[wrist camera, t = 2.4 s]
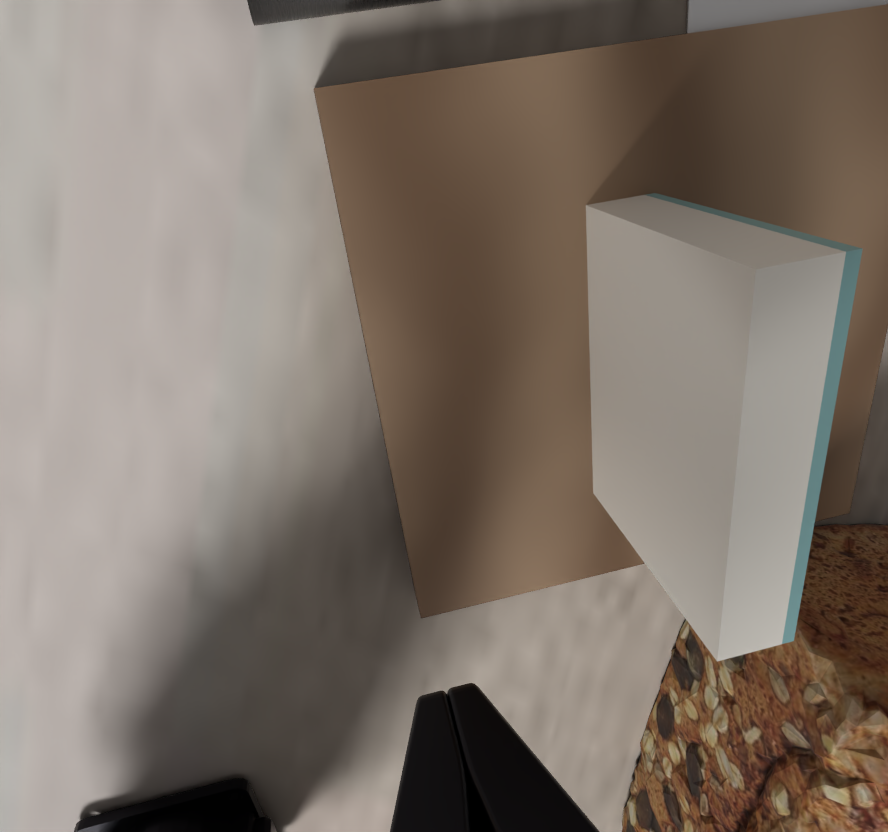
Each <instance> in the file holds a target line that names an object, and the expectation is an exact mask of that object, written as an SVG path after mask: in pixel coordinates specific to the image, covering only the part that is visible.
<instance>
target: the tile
mask: <svg viewBox="0 0 888 832" xmlns="http://www.w3.org/2000/svg"><path fill="white" fill-rule="evenodd" d="M586 233H587V272H588V311H589V349H590V388H591V427H592V466H593V493H594V495H595V496H596V497H597V499H598V500H599V502H600V503H601V504H602V506H603V507H604V508H605V510H606V511H607V512H608V514H609V515H610V517H611V518H612V519H613V521H614V522H615V523H616V525H617V526H618V527H619V529H620V530H621V531H622V533H623V534H624V536H625V537H626V538H627V540H628V541H629V542H630V544H631V545H632V546H633V548H634V549H635V551H636V552H637V553H638V555H639V556H640V557H641V559H642V560H643V561H644V563H645V564H646V565H647V567H648V568H649V570H650V571H651V572H652V574H653V575H654V576H655V578H656V579H657V580H658V582H659V583H660V585H661V586H662V587H663V589H664V590H665V591H666V593H667V594H668V595H669V597H670V598H671V599H672V601H673V602H674V604H675V605H676V606H677V608H678V609H679V610H680V612H681V613H682V614H683V616H684V617H685V619H686V620H687V621H688V623H689V624H690V625H691V627H692V628H693V629H694V631H695V632H696V633H697V635H698V636H699V638H700V639H701V640H702V642H703V643H704V644H705V646H706V647H707V648H708V650H709V651H710V653H711V654H712V655H713V657H714V658H715V659H716V661H721V660H725V659H729V658H732V657H736V656H740V655H743V654H747V653H751V652H755V651H758V650H762V649H766V648H770V647H773V646H777V645H781V644H785V643H788V642H792V641H794V637H795V632H796V626H797V620H798V614H799V609H800V603H801V597H802V592H803V586H804V580H805V575H806V569H807V563H808V557H809V552H810V546H811V540H812V535H813V529H814V523H815V518H816V512H817V506H818V500H819V495H820V489H821V483H822V478H823V472H824V466H825V461H826V455H827V449H828V443H829V438H830V432H831V426H832V421H833V415H834V409H835V404H836V398H837V392H838V387H839V381H840V375H841V369H842V364H843V358H844V352H845V347H846V341H847V335H848V330H849V324H850V318H851V312H852V307H853V301H854V295H855V290H856V284H857V278H858V273H859V267H860V261H861V255H862V250H863V249H862V248H859V247H855V246H851V245H847V244H844V243H840V242H836V241H832V240H829V239H825V238H821V237H818V236H814V235H810V234H806V233H803V232H799V231H795V230H791V229H788V228H784V227H780V226H777V225H773V224H769V223H765V222H762V221H758V220H754V219H750V218H747V217H743V216H739V215H736V214H732V213H728V212H724V211H721V210H717V209H713V208H709V207H706V206H702V205H698V204H695V203H691V202H687V201H683V200H680V199H676V198H672V197H668V196H665V195H661V194H657V193H652V194H646V195H640V196H635V197H629V198H623V199H618V200H612V201H606V202H601V203H595V204H589V205H586Z"/></svg>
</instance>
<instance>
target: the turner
mask: <svg viewBox="0 0 888 832" xmlns="http://www.w3.org/2000/svg"><path fill="white" fill-rule="evenodd" d="M247 1H248V5H249V9H250V13H251V17H252V20H253V23H254V26H255V25H263V24H270V23H277V22H285V21H292V20H299V19H307V18H314V17H322V16H329V15H336V14H344V13H351V12H358V11H366V10H373V9H381V8H388V7H395V6H403V5H410V4H417V3H425V2H432V1H439V0H247ZM885 4H888V0H687V21H686V34H688V33H694V32H701V31H708V30H715V29H722V28H729V27H735V26H742V25H749V24H756V23H763V22H770V21H776V20H783V19H790V18H797V17H804V16H810V15H817V14H824V13H831V12H838V11H845V10H851V9H858V8H865V7H872V6H879V5H885Z"/></svg>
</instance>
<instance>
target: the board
mask: <svg viewBox="0 0 888 832" xmlns="http://www.w3.org/2000/svg"><path fill="white" fill-rule="evenodd" d="M314 93H315V98H316V103H317V108H318V113H319V118H320V123H321V128H322V133H323V138H324V143H325V148H326V153H327V158H328V163H329V168H330V173H331V177H332V182H333V187H334V192H335V197H336V202H337V207H338V212H339V217H340V222H341V227H342V232H343V237H344V242H345V247H346V252H347V257H348V262H349V267H350V272H351V277H352V282H353V287H354V291H355V296H356V301H357V306H358V311H359V316H360V321H361V326H362V331H363V336H364V341H365V346H366V351H367V356H368V361H369V366H370V371H371V376H372V381H373V386H374V391H375V396H376V401H377V406H378V410H379V415H380V420H381V425H382V430H383V435H384V440H385V445H386V450H387V455H388V460H389V465H390V470H391V475H392V480H393V485H394V490H395V495H396V500H397V505H398V510H399V515H400V520H401V525H402V529H403V534H404V539H405V544H406V549H407V554H408V559H409V564H410V569H411V574H412V579H413V584H414V589H415V594H416V598H417V603H418V607H419V612H420V616H421V618H425V617H429V616H433V615H437V614H441V613H445V612H449V611H453V610H457V609H461V608H466V607H470V606H474V605H478V604H482V603H486V602H490V601H494V600H498V599H502V598H506V597H510V596H514V595H518V594H522V593H527V592H531V591H535V590H539V589H543V588H547V587H551V586H555V585H559V584H563V583H567V582H571V581H575V580H579V579H584V578H588V577H592V576H596V575H600V574H604V573H608V572H612V571H616V570H620V569H624V568H628V567H632V566H636V565H641V564H645V563H644V561H643V560H642V559H641V557H640V556H639V555H638V553H637V552H636V551H635V549H634V548H633V546H632V545H631V544H630V542H629V541H628V540H627V538H626V537H625V536H624V534H623V533H622V531H621V530H620V529H619V527H618V526H617V525H616V523H615V522H614V521H613V519H612V518H611V517H610V515H609V514H608V512H607V511H606V510H605V508H604V507H603V506H602V504H601V503H600V502H599V500H598V499H597V497H596V496H595V495H594V493H593V466H592V427H591V388H590V349H589V311H588V272H587V233H586V205H589V204H595V203H601V202H606V201H612V200H618V199H623V198H629V197H635V196H640V195H646V194H652V193H657V194H661V195H665V196H668V197H672V198H676V199H680V200H683V201H687V202H691V203H695V204H698V205H702V206H706V207H709V208H713V209H717V210H721V211H724V212H728V213H732V214H736V215H739V216H743V217H747V218H750V219H754V220H758V221H762V222H765V223H769V224H773V225H777V226H780V227H784V228H788V229H791V230H795V231H799V232H803V233H806V234H810V235H814V236H818V237H821V238H825V239H829V240H832V241H836V242H840V243H844V244H847V245H851V246H855V247H859V248H862V249H863V250H862V255H861V261H860V267H859V273H858V278H857V284H856V290H855V295H854V301H853V307H852V312H851V318H850V324H849V330H848V335H847V341H846V347H845V352H844V358H843V364H842V369H841V375H840V381H839V387H838V392H837V398H836V404H835V409H834V415H833V421H832V426H831V432H830V438H829V443H828V449H827V455H826V461H825V466H824V472H823V478H822V483H821V489H820V495H819V500H818V506H817V512H816V518H815V521H820V520H824V519H828V518H832V517H836V516H840V515H844V514H848V513H850V508H851V503H852V498H853V493H854V488H855V483H856V479H857V474H858V469H859V464H860V459H861V454H862V449H863V444H864V440H865V435H866V430H867V425H868V420H869V415H870V410H871V406H872V401H873V396H874V391H875V386H876V381H877V376H878V371H879V367H880V362H881V357H882V352H883V347H884V342H885V337H886V333H887V328H888V4H885V5H879V6H872V7H865V8H858V9H851V10H845V11H838V12H831V13H824V14H817V15H810V16H804V17H797V18H790V19H783V20H776V21H770V22H763V23H756V24H749V25H742V26H735V27H729V28H722V29H715V30H708V31H701V32H694V33H688V34H681V35H674V36H667V37H660V38H654V39H647V40H640V41H633V42H626V43H619V44H613V45H606V46H599V47H592V48H585V49H579V50H572V51H565V52H558V53H551V54H544V55H538V56H531V57H524V58H517V59H510V60H504V61H497V62H490V63H483V64H476V65H469V66H463V67H456V68H449V69H442V70H435V71H429V72H422V73H415V74H408V75H401V76H394V77H388V78H381V79H374V80H367V81H360V82H353V83H347V84H340V85H333V86H326V87H319V88H314Z"/></svg>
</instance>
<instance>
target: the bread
mask: <svg viewBox="0 0 888 832" xmlns="http://www.w3.org/2000/svg"><path fill="white" fill-rule="evenodd" d="M640 744H641V755H640V759H639V763H638V764H637V766H636V768H635V771H634V773H635V779H634V780H633V781H632V782H631V787H630V791H631V797H630V798H629V800H628V803H627V806H626V807H624V811H623V819H622V826H623V830H622V832H888V525H877V524H859V525H838V524H835V525H827V526H819V527H814V529H813V535H812V540H811V546H810V552H809V557H808V563H807V569H806V575H805V580H804V586H803V592H802V597H801V603H800V609H799V614H798V620H797V626H796V632H795V637H794V641H792V642H788V643H785V644H781V645H777V646H773V647H770V648H766V649H762V650H758V651H755V652H751V653H747V654H743V655H740V656H736V657H732V658H729V659H725V660H721V661H716V659H715V658H714V657H713V655H712V654H711V653H710V651H709V650H708V648H707V647H706V646H705V644H704V643H703V642H702V640H701V639H700V638H699V636H698V635H697V633H696V632H695V631H694V629H693V628H692V627H691V625H690V624H689V623H688V621H687V620H686V621H685V623H684V624H683V626H682V628H681V630H680V633H679V636H678V639H677V642H676V648H675V649H673V650H672V656H671V661H670V663H669V666H668V668H667V671H666V674H665V677H664V680H663V683H662V684H661V686H660V691H659V694H658V697H657V700H656V702H655V705H654V707H653V709H652V712H651V714H650V716H649V719H648V723H647V726H646V730H645V733H644V736H643V738H642V740H641V742H640Z"/></svg>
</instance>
